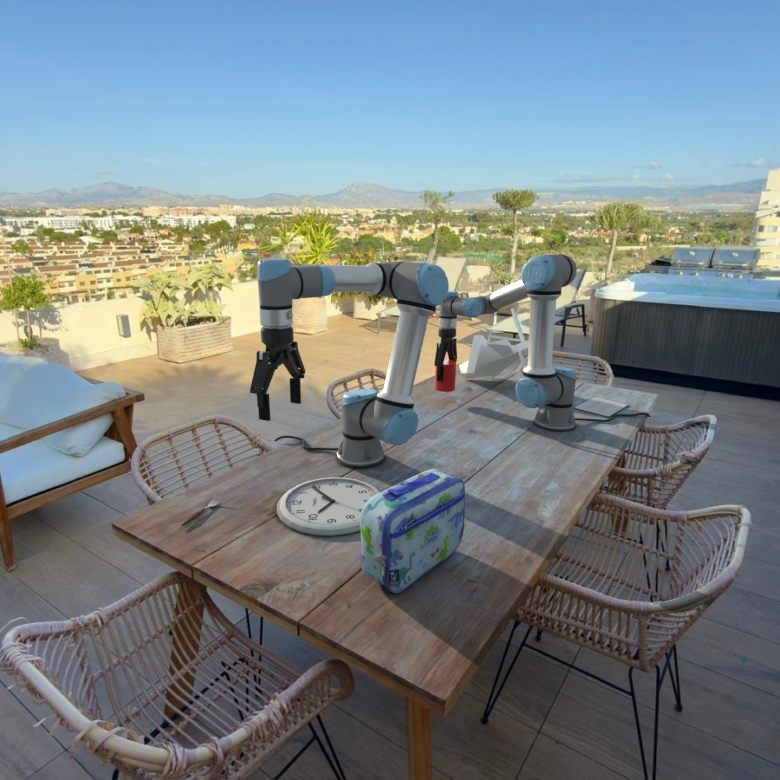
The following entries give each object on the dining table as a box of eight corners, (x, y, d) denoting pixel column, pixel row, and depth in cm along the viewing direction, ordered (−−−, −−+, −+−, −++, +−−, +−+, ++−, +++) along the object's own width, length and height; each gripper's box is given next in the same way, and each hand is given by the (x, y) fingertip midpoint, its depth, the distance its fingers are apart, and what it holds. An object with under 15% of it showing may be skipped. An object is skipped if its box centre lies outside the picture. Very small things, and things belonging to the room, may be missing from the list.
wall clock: (392, 527, 129) (268, 531, 127) (391, 533, 130) (269, 537, 127) (383, 473, 158) (282, 475, 155) (383, 478, 158) (282, 480, 156)
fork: (176, 526, 131) (176, 519, 130) (217, 497, 145) (217, 491, 145) (185, 528, 130) (184, 521, 130) (225, 499, 145) (224, 492, 144)
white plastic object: (480, 421, 262) (459, 398, 238) (462, 347, 285) (440, 320, 260) (552, 397, 250) (537, 370, 226) (527, 322, 272) (511, 290, 248)
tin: (444, 385, 236) (446, 358, 232) (459, 389, 229) (460, 362, 226) (430, 388, 230) (431, 361, 227) (444, 393, 224) (445, 365, 220)
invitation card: (608, 416, 214) (573, 407, 224) (608, 416, 214) (573, 408, 224) (628, 404, 229) (594, 396, 238) (628, 405, 229) (594, 397, 238)
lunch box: (388, 606, 105) (390, 514, 99) (353, 580, 112) (353, 493, 106) (468, 553, 123) (474, 472, 116) (433, 534, 130) (437, 457, 124)
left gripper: (258, 337, 111) (263, 430, 117) (317, 319, 133) (319, 398, 139) (229, 333, 113) (236, 425, 120) (292, 317, 136) (295, 394, 142)
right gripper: (451, 323, 232) (449, 372, 239) (426, 330, 215) (425, 382, 222) (467, 325, 228) (464, 374, 235) (442, 332, 211) (440, 385, 218)
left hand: (280, 411), depth 130 cm, fingers open, 13 cm apart
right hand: (445, 378), depth 228 cm, fingers closed on tin, 9 cm apart
